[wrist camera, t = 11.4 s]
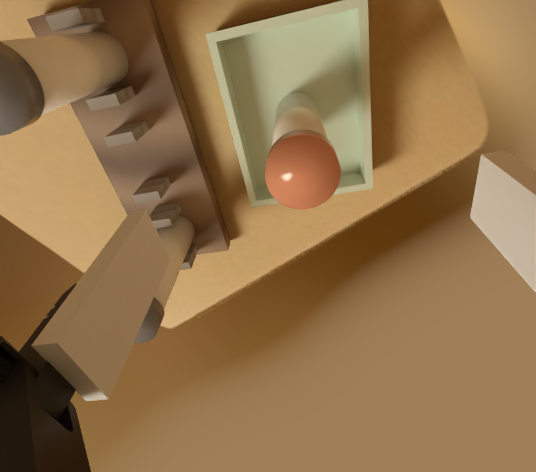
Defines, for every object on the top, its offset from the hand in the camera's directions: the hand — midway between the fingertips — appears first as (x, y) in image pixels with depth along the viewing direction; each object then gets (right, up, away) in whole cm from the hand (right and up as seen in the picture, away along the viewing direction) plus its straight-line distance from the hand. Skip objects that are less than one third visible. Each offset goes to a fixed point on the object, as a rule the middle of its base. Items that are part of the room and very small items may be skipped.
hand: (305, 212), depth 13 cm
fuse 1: (-14, +13, +12) cm, 22 cm away
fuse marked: (+1, +9, +14) cm, 17 cm away
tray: (+1, +10, +15) cm, 18 cm away
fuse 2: (-11, 0, +21) cm, 23 cm away
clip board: (-12, +7, +17) cm, 23 cm away
